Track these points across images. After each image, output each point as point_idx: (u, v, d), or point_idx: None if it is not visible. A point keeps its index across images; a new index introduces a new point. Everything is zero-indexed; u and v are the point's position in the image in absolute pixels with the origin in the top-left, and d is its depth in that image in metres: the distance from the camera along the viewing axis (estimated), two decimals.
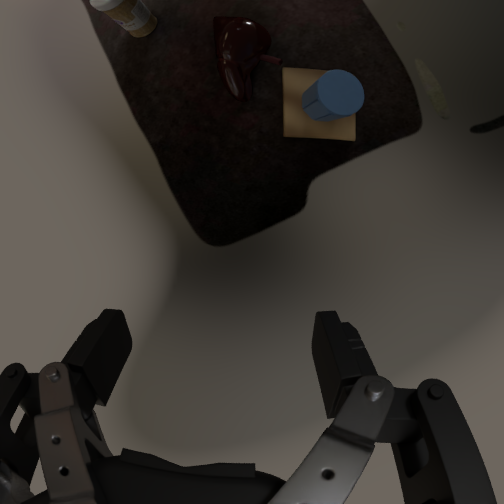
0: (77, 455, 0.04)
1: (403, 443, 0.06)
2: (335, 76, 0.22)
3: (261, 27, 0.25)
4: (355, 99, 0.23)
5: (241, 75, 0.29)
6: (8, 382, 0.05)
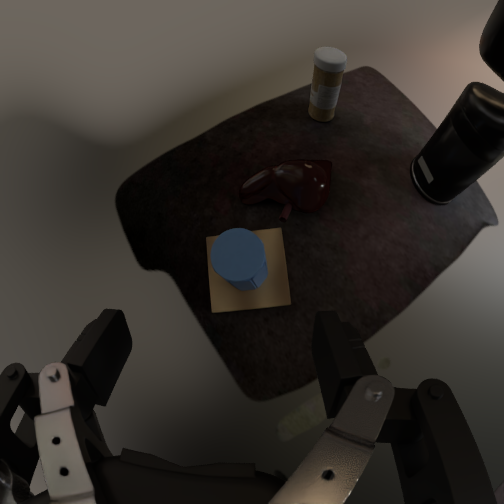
0: (77, 455, 0.04)
1: (403, 443, 0.06)
2: (254, 245, 0.26)
3: (320, 197, 0.34)
4: (232, 271, 0.26)
5: (262, 186, 0.35)
6: (8, 382, 0.05)
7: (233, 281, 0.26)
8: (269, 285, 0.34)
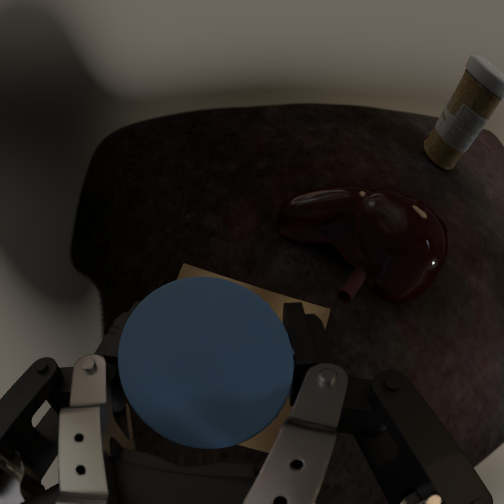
0: (98, 456, 0.04)
1: (368, 436, 0.06)
2: (265, 364, 0.07)
3: (424, 281, 0.15)
4: (162, 405, 0.06)
5: (329, 215, 0.17)
6: (36, 377, 0.06)
7: None
8: None
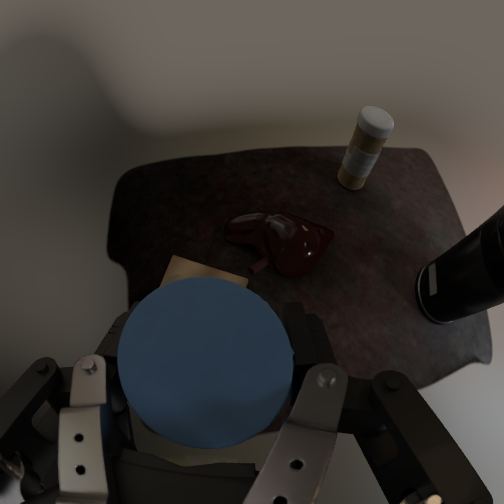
0: (98, 456, 0.04)
1: (368, 436, 0.06)
2: (265, 364, 0.07)
3: (301, 264, 0.31)
4: (162, 404, 0.06)
5: (248, 228, 0.33)
6: (36, 377, 0.06)
7: None
8: None
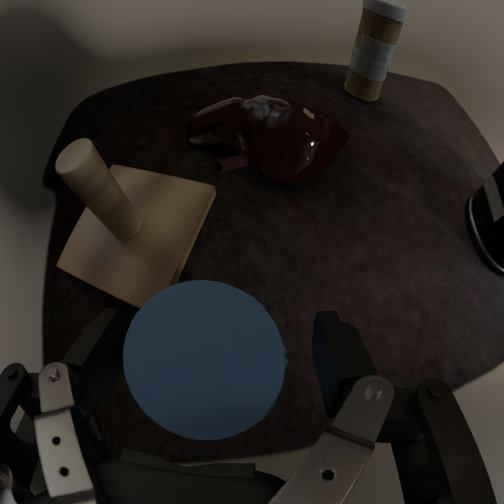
0: (77, 455, 0.04)
1: (403, 443, 0.06)
2: (259, 361, 0.08)
3: (301, 156, 0.18)
4: (164, 398, 0.07)
5: (219, 118, 0.20)
6: (8, 382, 0.05)
7: None
8: (143, 265, 0.17)
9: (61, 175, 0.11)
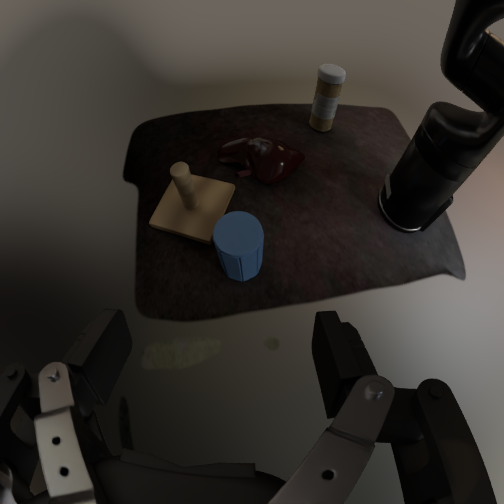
0: (77, 455, 0.04)
1: (403, 443, 0.06)
2: (255, 231, 0.28)
3: (276, 170, 0.39)
4: (227, 243, 0.28)
5: (236, 149, 0.41)
6: (8, 382, 0.05)
7: (223, 252, 0.28)
8: (201, 220, 0.38)
9: (175, 177, 0.32)
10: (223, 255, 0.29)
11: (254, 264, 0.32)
